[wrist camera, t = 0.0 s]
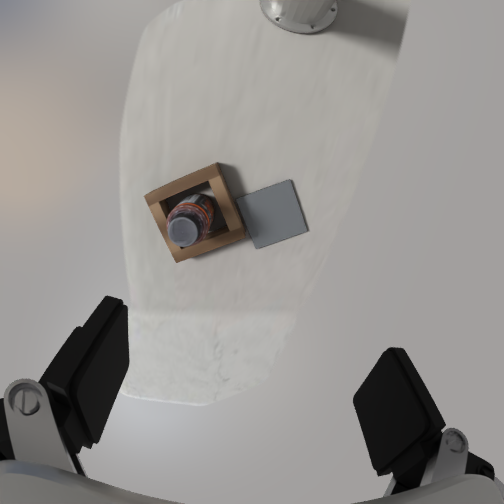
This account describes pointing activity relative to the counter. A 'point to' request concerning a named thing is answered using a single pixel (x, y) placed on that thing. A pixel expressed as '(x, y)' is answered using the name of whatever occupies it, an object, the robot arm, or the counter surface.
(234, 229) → the pocket frame
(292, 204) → the slate coaster
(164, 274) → the counter surface
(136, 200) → the counter surface
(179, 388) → the counter surface
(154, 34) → the counter surface
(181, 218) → the supplement bottle
